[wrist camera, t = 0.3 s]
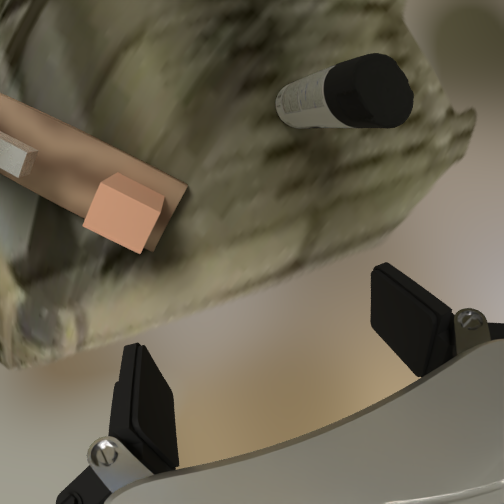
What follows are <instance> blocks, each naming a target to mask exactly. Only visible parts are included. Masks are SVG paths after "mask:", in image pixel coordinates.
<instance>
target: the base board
mask: <svg viewBox="0 0 504 504" xmlns="http://www.w3.org/2000/svg"><path fill="white" fill-rule="evenodd" d="M0 131H1V132H3V133H5V134H7V135H9V136H11V137H13V138H15V139H17V140H19V141H21V142H22V143H24V144H26V145H28V146H30V147H32V148H34V149H36V150H38V153H37V156H36V159H35V161H34V164H33V167H32V169H31V172H30V174H29V175H26V176H23V177H20V178H18V177H16V176H14V175H12V174H10V173H8V172H7V171H5V170H3V169H1V168H0V173H1V174H2V175H4V176H6V177H8V178H10V179H11V180H13V181H15V182H17V183H18V184H20V185H22V186H24V187H26V188H28V189H29V190H31V191H33V192H35V193H37V194H39V195H40V196H42V197H44V198H46V199H48V200H50V201H52V202H54V203H55V204H57V205H59V206H61V207H63V208H65V209H67V210H69V211H71V212H73V213H75V214H77V215H79V216H80V217H82V218H84V219H85V218H86V216H87V213H88V211H89V208H90V206H91V203H92V201H93V199H94V196H95V194H96V192H97V189H98V187H99V185H100V182H102V181H103V180H105V179H107V178H109V177H110V176H112V175H114V174H115V173H117V172H118V173H120V174H122V175H124V176H126V177H128V178H130V179H132V180H134V181H136V182H138V183H140V184H142V185H144V186H146V187H147V188H149V189H151V190H153V191H155V192H157V193H159V194H161V195H163V196H165V197H164V201H163V205H162V209H161V213H160V215H159V217H158V219H157V221H156V223H155V225H154V227H153V229H152V231H151V233H150V235H149V237H148V239H147V241H146V243H145V245H144V247H143V248H145V249H147V250H149V251H152V252H154V250H155V248H156V245H157V243H158V242H159V240H160V238H161V236H162V234H163V232H164V230H165V228H166V226H167V224H168V222H169V220H170V218H171V216H172V214H173V212H174V211H175V209H176V207H177V205H178V203H179V201H180V200H181V198H182V196H183V194H184V192H185V190H186V189H187V187H188V184H186V183H184V182H182V181H180V180H178V179H176V178H174V177H172V176H170V175H169V174H167V173H165V172H163V171H161V170H159V169H157V168H155V167H153V166H151V165H149V164H147V163H145V162H143V161H141V160H139V159H137V158H135V157H134V156H132V155H130V154H128V153H126V152H124V151H122V150H120V149H118V148H116V147H114V146H112V145H110V144H108V143H106V142H104V141H102V140H100V139H97V138H95V137H93V136H91V135H89V134H87V133H85V132H83V131H81V130H79V129H77V128H75V127H73V126H71V125H69V124H67V123H64V122H62V121H60V120H58V119H56V118H54V117H52V116H50V115H48V114H45V113H43V112H41V111H39V110H37V109H35V108H33V107H30V106H28V105H26V104H24V103H22V102H19V101H17V100H15V99H13V98H11V97H8V96H6V95H4V94H2V93H0Z"/></svg>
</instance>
